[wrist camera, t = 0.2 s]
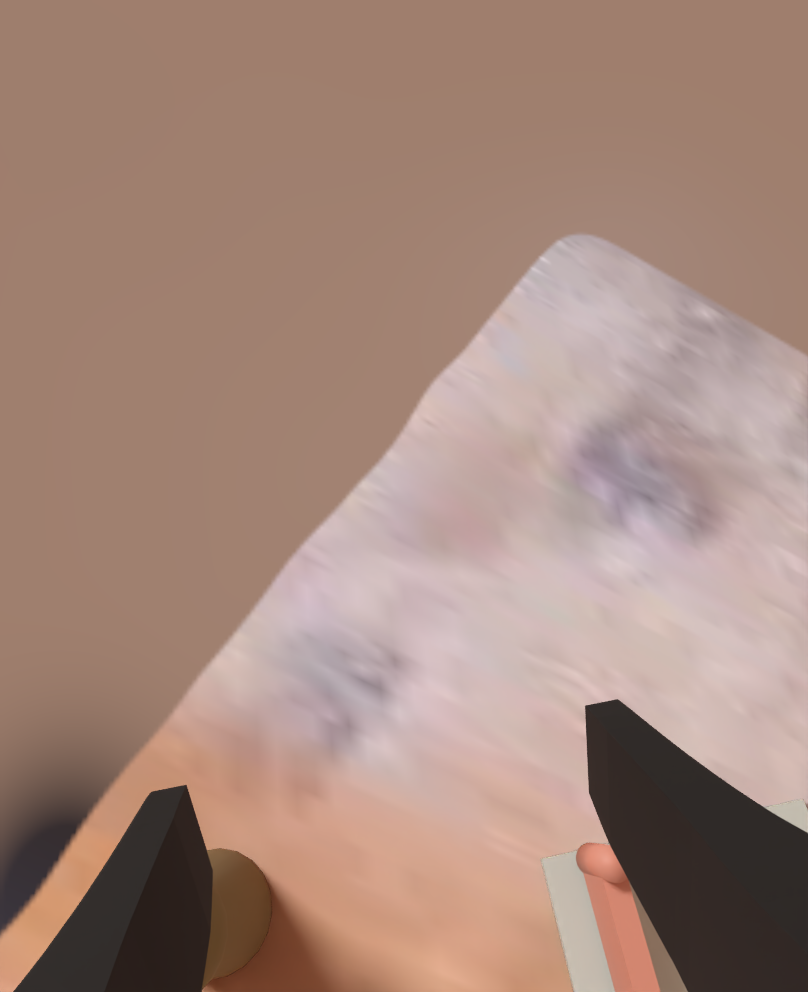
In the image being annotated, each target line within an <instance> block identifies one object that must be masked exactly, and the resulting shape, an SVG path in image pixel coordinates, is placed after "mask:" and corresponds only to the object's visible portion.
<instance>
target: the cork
mask: <svg viewBox="0 0 808 992" xmlns="http://www.w3.org/2000/svg"><path fill="white" fill-rule="evenodd" d="M207 853H208V856H209V859H210V863H211V866H212V869H213V887H212V913H211V932H210V939H209V946H208V953H207V959H206V966H205V973H204V979H203V986H202V989H203V988H204V987H205V986H206V985H207V984H208V983H209V982H210V981H211V980H212V979H215V978H220V977H225V976H228V975H230V974H232V973H233V972H235V971H237V970H239V969H240V968H242V967H244V966H245V965H246V964H247V963H248V962H249V961H250V960H251V958H252V957H253V956H254V955H255V954H256V953H257V952H258V951H259V949H260V947H261V945H262V943H263V941H264V939H265V937H266V935H267V933H268V929H269V924H270V919H271V914H272V906H271V893H270V889H269V887H268V884H267V882H266V879H265V877H264V874H263V873H262V872H261V870H260V869H259V868H258V867H257V866H256V864H255V863H254V862H253V861H252V860H251V859H249V858H247V857H246V856H244V855H242V854H241V853H239V852H237V851H232V850H227V849H221V848H219V849H213V850H208V851H207Z"/></svg>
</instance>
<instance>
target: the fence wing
mask: <svg viewBox="0 0 808 992" xmlns="http://www.w3.org/2000/svg"><path fill="white" fill-rule="evenodd" d="M576 862H577V865H578V867H579V869H580V870H581V871H582V872H583V874H584V878H585V881H586V885H587V889H588V893H589V896H590V900H591V904H592V908H593V911H594V915H595V919H596V922H597V926H598V930H599V934H600V937H601V941H602V945H603V949H604V952H605V956H606V960H607V964H608V967H609V971H610V975H611V979H612V982H613V986H614V990H615V992H660V988H659V985H658V981H657V978H656V974H655V971H654V967H653V964H652V960H651V957H650V953H649V950H648V946H647V943H646V940H645V936H644V933H643V929H642V926H641V922H640V919H639V915H638V912H637V908H636V905H635V901H634V898H633V894H632V891H631V888H630V884H629V881H628V878H627V876H626V875H625V873H624V871H623V869H622V867H621V865H620V863H619V861H618V860H617V858H616V856H615V854H614V852H613V850H612V848H611V846H610V845H606V844H597V843H585V844H583V845H582V846H581V847H580V848H579V849H578V851H577V854H576Z"/></svg>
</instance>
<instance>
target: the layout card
mask: <svg viewBox="0 0 808 992" xmlns="http://www.w3.org/2000/svg"><path fill="white" fill-rule="evenodd" d="M764 808H766V809H767V810H769V811H771V812H772V813H774V814H776V815H777V816H779V817H781V818H782V819H784V820H786V821H788V822H789V823H791V824H793V825H795V826H797V827H798V828H800V829H802V830H804V831H805V832H807V833H808V809H807V807H806V804H805V802H804V799H799V800H795V801H790V802H786V803H782V804H777V805H773V806H769V807H764ZM606 845H610V844H609V843H608V844H606ZM577 851H578V850H577ZM577 851H573V852H568V853H564V854H560V855H555V856H551V857H547V858H542V859H541V863H542V867H543V871H544V875H545V879H546V883H547V887H548V891H549V895H550V899H551V903H552V907H553V911H554V915H555V919H556V923H557V927H558V931H559V935H560V939H561V943H562V947H563V951H564V955H565V959H566V963H567V967H568V971H569V975H570V979H571V983H572V987H573V991H574V992H615V990H614V986H613V982H612V979H611V975H610V971H609V967H608V964H607V960H606V956H605V952H604V949H603V945H602V941H601V937H600V934H599V930H598V926H597V922H596V919H595V915H594V911H593V908H592V904H591V900H590V896H589V893H588V889H587V885H586V881H585V878H584V874H583V872H582V871H581V870H580V869H579V867H578V865H577V862H576V854H577ZM628 881H629V880H628ZM629 884H630V882H629ZM630 888H631V891H632V894H633V898H634V901H635V905H636V908H637V912H638V915H639V919H640V922H641V926H642V929H643V933H644V936H645V940H646V943H647V946H648V950H649V953H650V957H651V960H652V964H653V967H654V971H655V974H656V978H657V981H658V985H659V988H660V992H688V991H687V989H686V987H685V985H684V983H683V981H682V979H681V977H680V975H679V973H678V971H677V969H676V967H675V965H674V963H673V961H672V959H671V958H670V956H669V954H668V952H667V950H666V948H665V947H664V945H663V943H662V941H661V939H660V937H659V936H658V934H657V932H656V930H655V928H654V926H653V924H652V923H651V921H650V919H649V917H648V915H647V913H646V912H645V910H644V908H643V906H642V904H641V902H640V901H639V899H638V897H637V895H636V893H635V891H634V889H633V888H632V886H631V884H630Z"/></svg>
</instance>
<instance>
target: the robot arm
mask: <svg viewBox="0 0 808 992" xmlns="http://www.w3.org/2000/svg"><path fill="white" fill-rule="evenodd" d="M585 712H586V735H587V757H588V780H589V794H590V796H591V799H592V801H593V804H594V807H595V809H596V812H597V814H598V817H599V819H600V822H601V824H602V827H603V829H604V832H605V834H606V837H607V839H608V841H609V844H610V846H611V848H612V850H613V852H614V854H615V856H616V858H617V860H618V861H619V863H620V865H621V867H622V869H623V871H624V873H625V875H626V876H627V878H628V880H629V882H630V884H631V886H632V888H633V889H634V891H635V893H636V895H637V897H638V899H639V901H640V902H641V904H642V906H643V908H644V910H645V912H646V913H647V915H648V917H649V919H650V921H651V923H652V924H653V926H654V928H655V930H656V932H657V934H658V936H659V937H660V939H661V941H662V943H663V945H664V947H665V948H666V950H667V952H668V954H669V956H670V958H671V959H672V961H673V963H674V965H675V967H676V969H677V971H678V973H679V975H680V977H681V979H682V981H683V983H684V985H685V987H686V989H687V991H688V992H808V833H807V832H805V831H804V830H802V829H800V828H798V827H797V826H795V825H793V824H791V823H789V822H788V821H786V820H784V819H782V818H781V817H779V816H777V815H776V814H774V813H772V812H771V811H769V810H767V809H766V808H764V807H763V806H761V805H759V804H758V803H756V802H755V801H753V800H752V799H750V798H749V797H747V796H746V795H744V794H743V793H741V792H740V791H738V790H737V789H735V788H734V787H732V786H731V785H729V784H728V783H726V782H725V781H724V780H722V779H721V778H719V777H718V776H716V775H715V774H714V773H712V772H711V771H710V770H708V769H707V768H706V767H704V766H703V765H701V764H700V763H699V762H697V761H696V760H695V759H693V758H692V757H691V756H689V755H688V754H687V753H685V752H684V751H683V750H681V749H680V748H679V747H677V746H676V745H675V744H673V743H672V742H671V741H670V740H668V739H667V738H666V737H665V736H663V735H662V734H661V733H659V732H658V731H657V730H656V729H654V728H653V727H652V726H651V725H649V724H648V723H647V722H646V721H644V720H643V719H642V718H641V717H640V716H638V715H637V714H636V713H635V712H633V711H632V710H631V709H630V708H628V707H627V706H626V705H624V704H623V703H622V702H620V701H619V700H618V699H617V700H612V701H607V702H602V703H597V704H591V705H586V706H585ZM212 887H213V869H212V866H211V863H210V859H209V856H208V853H207V850H206V847H205V843H204V840H203V837H202V834H201V831H200V827H199V824H198V821H197V818H196V814H195V811H194V808H193V805H192V802H191V798H190V795H189V792H188V789H187V785H183V786H178V787H173V788H168V789H163V790H158V791H153V792H151V793H150V794H149V795H148V797H147V798H146V800H145V801H144V803H143V804H142V806H141V808H140V809H139V811H138V813H137V814H136V816H135V817H134V819H133V821H132V822H131V824H130V826H129V827H128V829H127V831H126V832H125V834H124V835H123V837H122V839H121V840H120V842H119V843H118V845H117V847H116V848H115V850H114V851H113V853H112V855H111V856H110V858H109V859H108V861H107V862H106V864H105V866H104V867H103V869H102V870H101V872H100V873H99V875H98V876H97V878H96V879H95V881H94V882H93V884H92V885H91V887H90V888H89V890H88V891H87V893H86V894H85V896H84V897H83V899H82V900H81V902H80V903H79V905H78V906H77V908H76V909H75V911H74V912H73V913H72V915H71V916H70V917H69V919H68V920H67V922H66V923H65V924H64V926H63V927H62V928H61V930H60V931H59V933H58V934H57V935H56V937H55V938H54V940H53V941H52V942H51V944H50V945H49V946H48V948H47V949H46V951H45V952H44V953H43V955H42V956H41V957H40V959H39V960H38V961H37V962H36V964H35V965H34V966H33V968H32V969H31V970H30V971H29V973H28V974H27V975H26V977H25V978H24V979H23V980H22V982H21V983H20V984H19V985H18V987H17V988H16V989H15V990H14V991H13V992H202V986H203V979H204V973H205V966H206V959H207V953H208V946H209V939H210V932H211V913H212Z"/></svg>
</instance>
